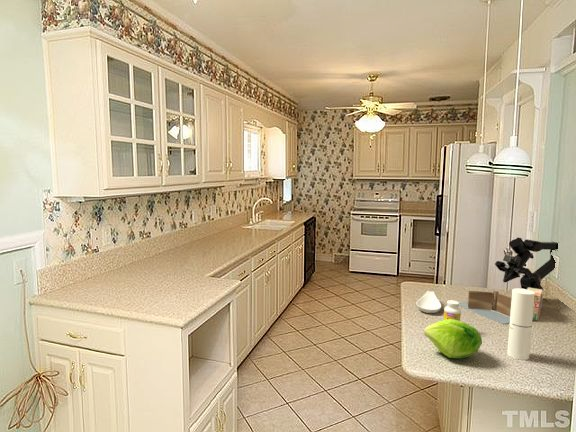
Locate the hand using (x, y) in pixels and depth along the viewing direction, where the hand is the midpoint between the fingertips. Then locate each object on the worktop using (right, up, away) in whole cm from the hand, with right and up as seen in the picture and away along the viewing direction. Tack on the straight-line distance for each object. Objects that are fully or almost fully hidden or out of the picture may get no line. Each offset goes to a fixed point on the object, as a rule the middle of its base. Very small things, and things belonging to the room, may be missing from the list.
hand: (504, 281), depth 200 cm
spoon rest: (-40, -13, -3) cm, 42 cm away
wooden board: (-16, -12, -6) cm, 21 cm away
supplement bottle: (-41, -16, -32) cm, 54 cm away
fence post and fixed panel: (-7, -14, -13) cm, 20 cm away
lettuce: (-50, -18, -54) cm, 76 cm away
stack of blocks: (+8, -14, -10) cm, 19 cm away
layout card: (-12, -13, -8) cm, 20 cm away
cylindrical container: (-25, -19, -55) cm, 63 cm away
